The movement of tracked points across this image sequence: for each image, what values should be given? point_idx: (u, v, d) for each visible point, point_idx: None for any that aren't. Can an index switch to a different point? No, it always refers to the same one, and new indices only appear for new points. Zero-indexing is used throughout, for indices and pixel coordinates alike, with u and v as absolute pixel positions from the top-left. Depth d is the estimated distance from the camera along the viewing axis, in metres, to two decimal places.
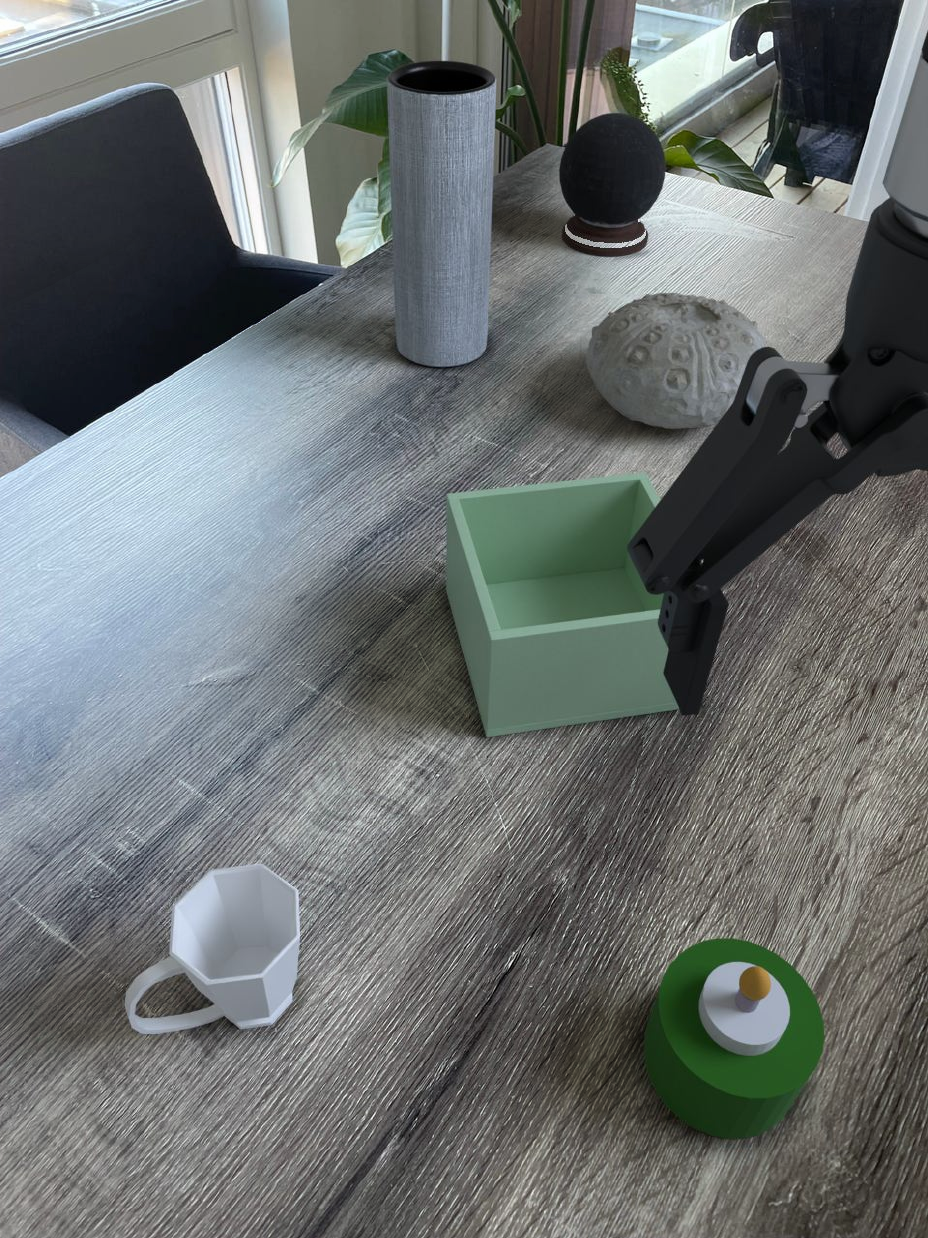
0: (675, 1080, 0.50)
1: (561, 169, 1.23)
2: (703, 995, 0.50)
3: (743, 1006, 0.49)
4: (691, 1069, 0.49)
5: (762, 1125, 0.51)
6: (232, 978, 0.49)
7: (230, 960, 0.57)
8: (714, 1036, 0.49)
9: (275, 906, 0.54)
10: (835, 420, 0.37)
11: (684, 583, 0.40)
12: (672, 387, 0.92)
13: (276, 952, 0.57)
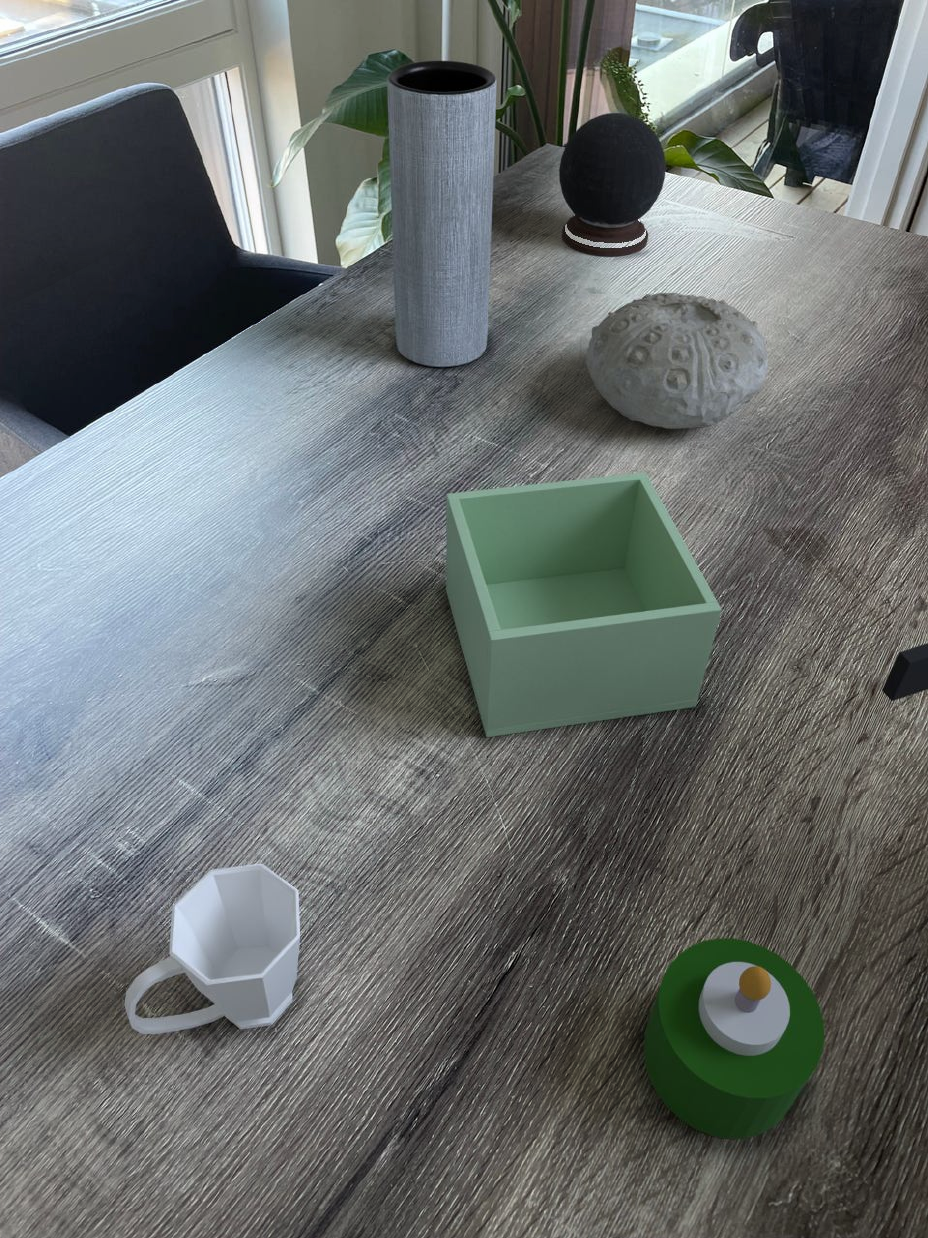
0: (675, 1080, 0.50)
1: (561, 169, 1.23)
2: (703, 995, 0.50)
3: (743, 1006, 0.49)
4: (691, 1069, 0.49)
5: (762, 1125, 0.51)
6: (232, 978, 0.49)
7: (230, 960, 0.57)
8: (714, 1036, 0.49)
9: (275, 906, 0.54)
10: None
11: None
12: (672, 387, 0.92)
13: (276, 952, 0.57)
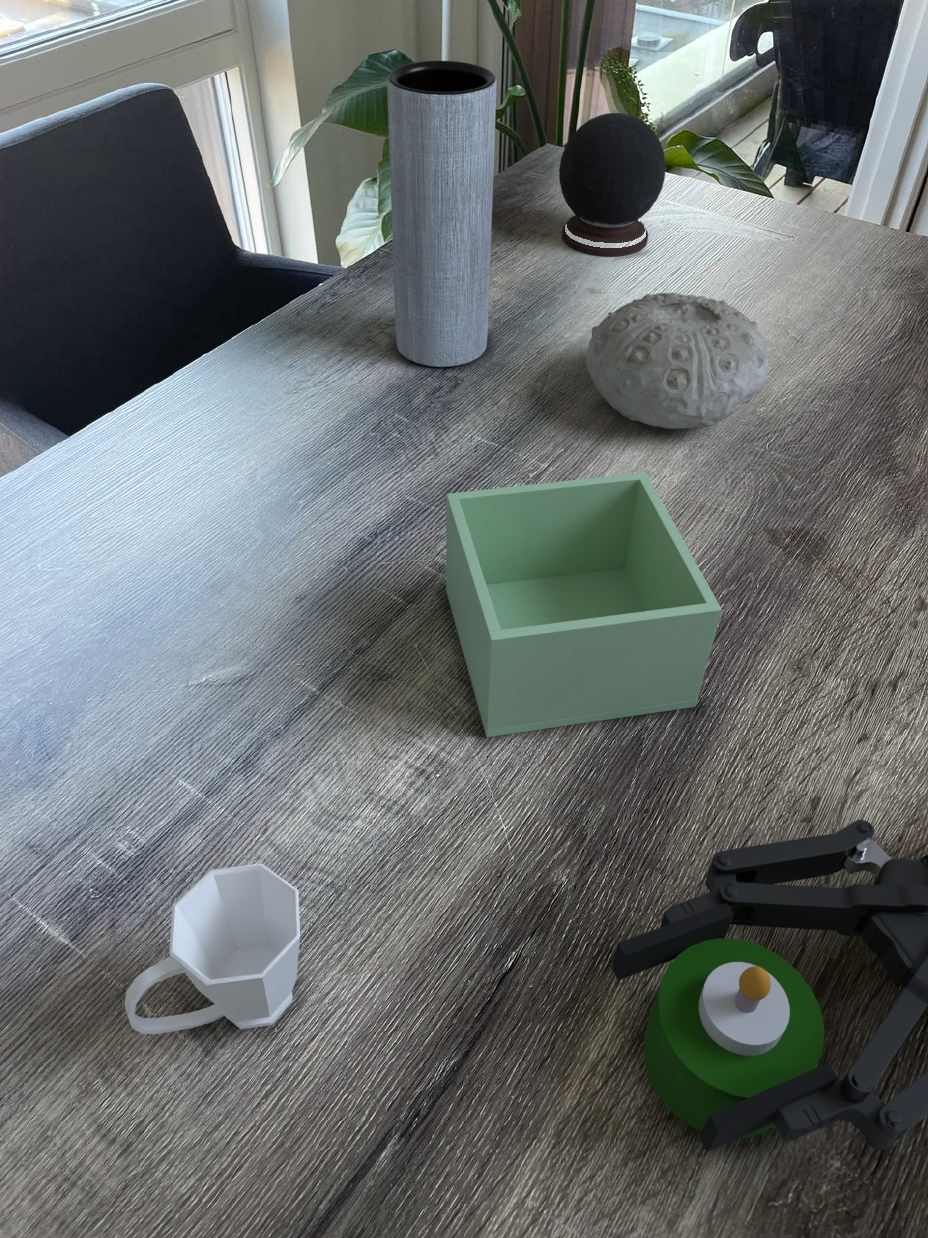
0: (675, 1080, 0.50)
1: (561, 169, 1.23)
2: (703, 995, 0.50)
3: (742, 1006, 0.49)
4: (691, 1069, 0.49)
5: None
6: (232, 978, 0.49)
7: (230, 960, 0.57)
8: (714, 1036, 0.49)
9: (275, 906, 0.54)
10: None
11: None
12: (672, 387, 0.92)
13: (276, 952, 0.57)
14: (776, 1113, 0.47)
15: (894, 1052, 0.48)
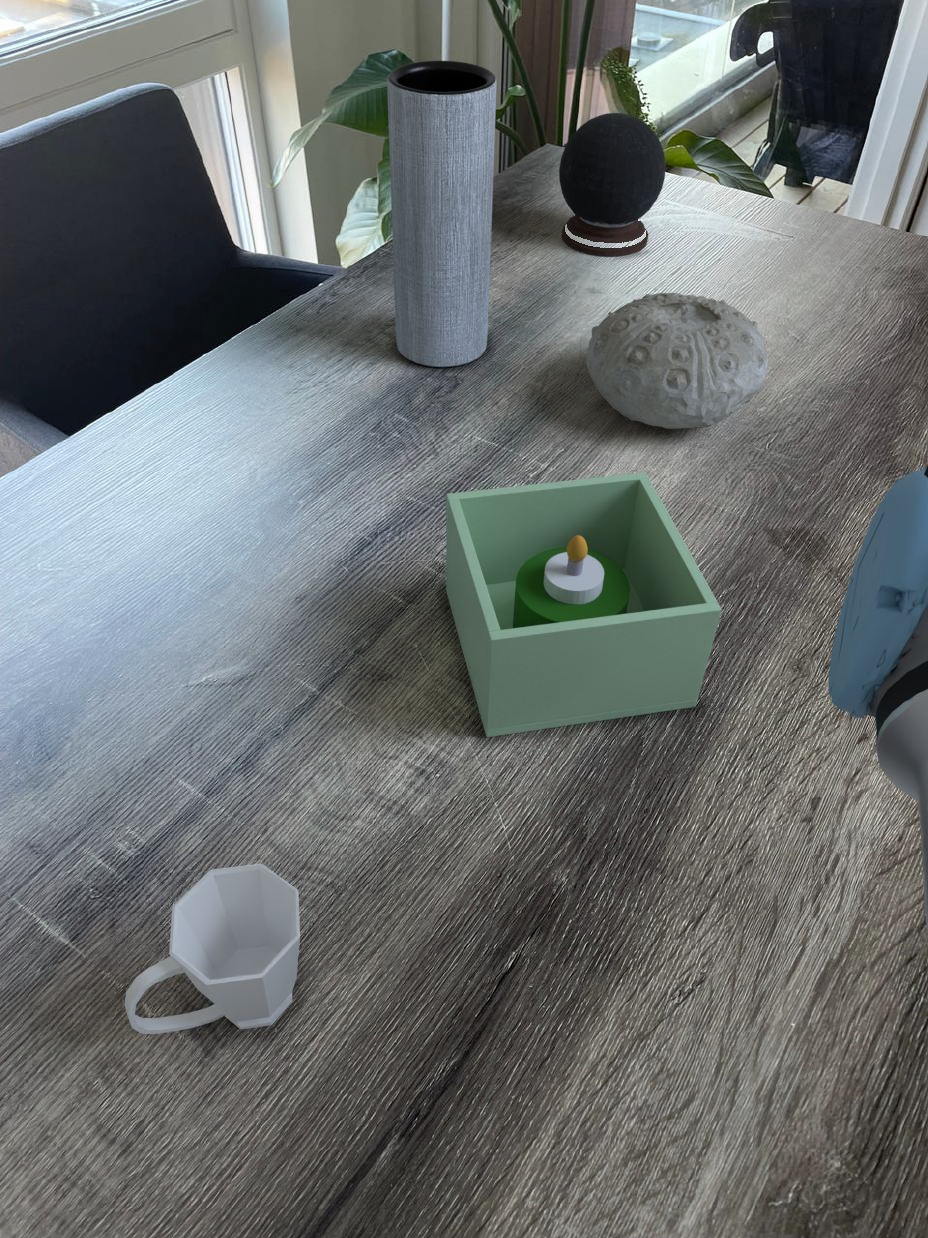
0: None
1: (561, 169, 1.23)
2: (545, 567, 0.72)
3: (570, 570, 0.71)
4: (534, 610, 0.71)
5: None
6: (232, 978, 0.49)
7: (230, 960, 0.57)
8: (551, 592, 0.71)
9: (275, 906, 0.54)
10: None
11: None
12: (672, 387, 0.92)
13: (276, 952, 0.57)
14: None
15: None
